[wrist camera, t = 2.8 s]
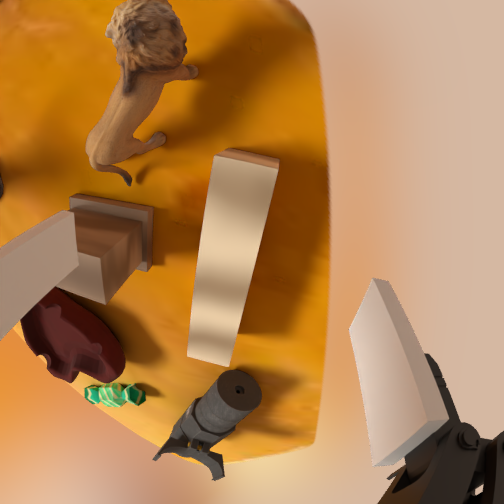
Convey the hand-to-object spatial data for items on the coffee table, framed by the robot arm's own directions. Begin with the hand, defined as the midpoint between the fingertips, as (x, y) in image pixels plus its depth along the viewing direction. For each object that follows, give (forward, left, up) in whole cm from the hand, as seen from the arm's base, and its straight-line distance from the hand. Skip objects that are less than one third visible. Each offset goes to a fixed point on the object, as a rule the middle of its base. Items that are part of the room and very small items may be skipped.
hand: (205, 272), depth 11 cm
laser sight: (+32, 0, -13) cm, 34 cm away
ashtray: (+21, -21, -13) cm, 33 cm away
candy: (+35, -16, -13) cm, 40 cm away
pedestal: (+6, -12, -12) cm, 18 cm away
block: (+6, 0, -13) cm, 14 cm away
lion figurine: (-7, -9, -13) cm, 17 cm away
